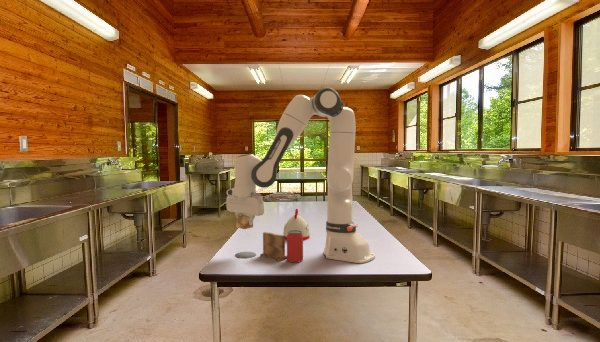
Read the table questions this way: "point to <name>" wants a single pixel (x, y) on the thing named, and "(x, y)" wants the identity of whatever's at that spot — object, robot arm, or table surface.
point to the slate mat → (245, 254)
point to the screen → (274, 246)
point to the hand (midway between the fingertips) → (244, 223)
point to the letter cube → (243, 222)
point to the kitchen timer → (297, 226)
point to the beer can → (294, 246)
